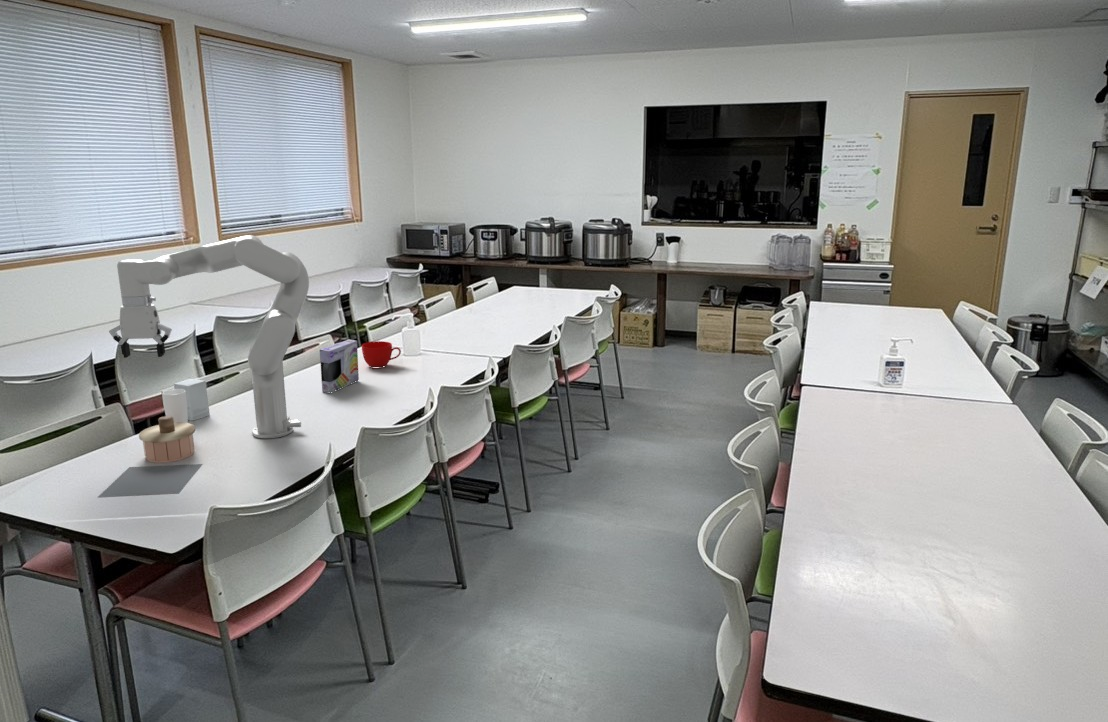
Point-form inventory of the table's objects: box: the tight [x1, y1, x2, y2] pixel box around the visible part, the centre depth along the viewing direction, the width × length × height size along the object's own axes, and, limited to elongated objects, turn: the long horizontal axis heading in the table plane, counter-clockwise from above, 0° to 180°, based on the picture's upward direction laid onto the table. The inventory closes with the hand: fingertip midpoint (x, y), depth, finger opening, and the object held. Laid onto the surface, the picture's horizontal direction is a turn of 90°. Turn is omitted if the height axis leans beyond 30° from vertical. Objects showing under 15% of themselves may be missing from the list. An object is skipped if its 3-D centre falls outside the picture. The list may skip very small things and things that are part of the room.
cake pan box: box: [319, 338, 360, 394], centre depth 285 cm, size 19×5×18 cm, turn 158°
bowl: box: [142, 433, 196, 464], centre depth 216 cm, size 13×13×7 cm
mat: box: [97, 463, 203, 498], centre depth 199 cm, size 20×20×1 cm
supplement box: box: [173, 377, 210, 421], centre depth 250 cm, size 7×7×13 cm
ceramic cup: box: [361, 340, 402, 368], centre depth 317 cm, size 13×17×10 cm
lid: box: [138, 415, 196, 443], centre depth 215 cm, size 15×15×5 cm
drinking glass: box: [161, 388, 189, 423], centre depth 231 cm, size 7×7×15 cm
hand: (144, 356), depth 219 cm, fingers open, 9 cm apart
